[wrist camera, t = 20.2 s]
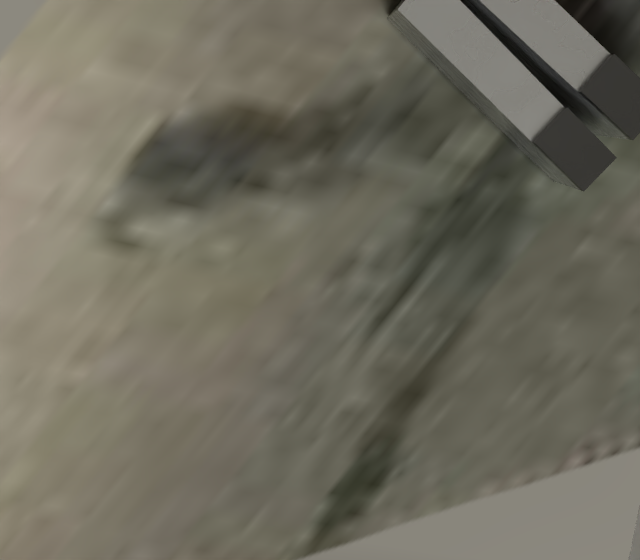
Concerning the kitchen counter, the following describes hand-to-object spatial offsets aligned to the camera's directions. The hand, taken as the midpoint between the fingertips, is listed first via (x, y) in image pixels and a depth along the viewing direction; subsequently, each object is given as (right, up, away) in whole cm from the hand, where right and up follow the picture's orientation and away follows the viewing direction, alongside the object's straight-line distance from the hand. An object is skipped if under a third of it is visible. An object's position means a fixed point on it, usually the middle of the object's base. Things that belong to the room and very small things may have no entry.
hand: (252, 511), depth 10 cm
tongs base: (+11, +18, +25) cm, 33 cm away
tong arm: (+11, +15, +26) cm, 32 cm away
